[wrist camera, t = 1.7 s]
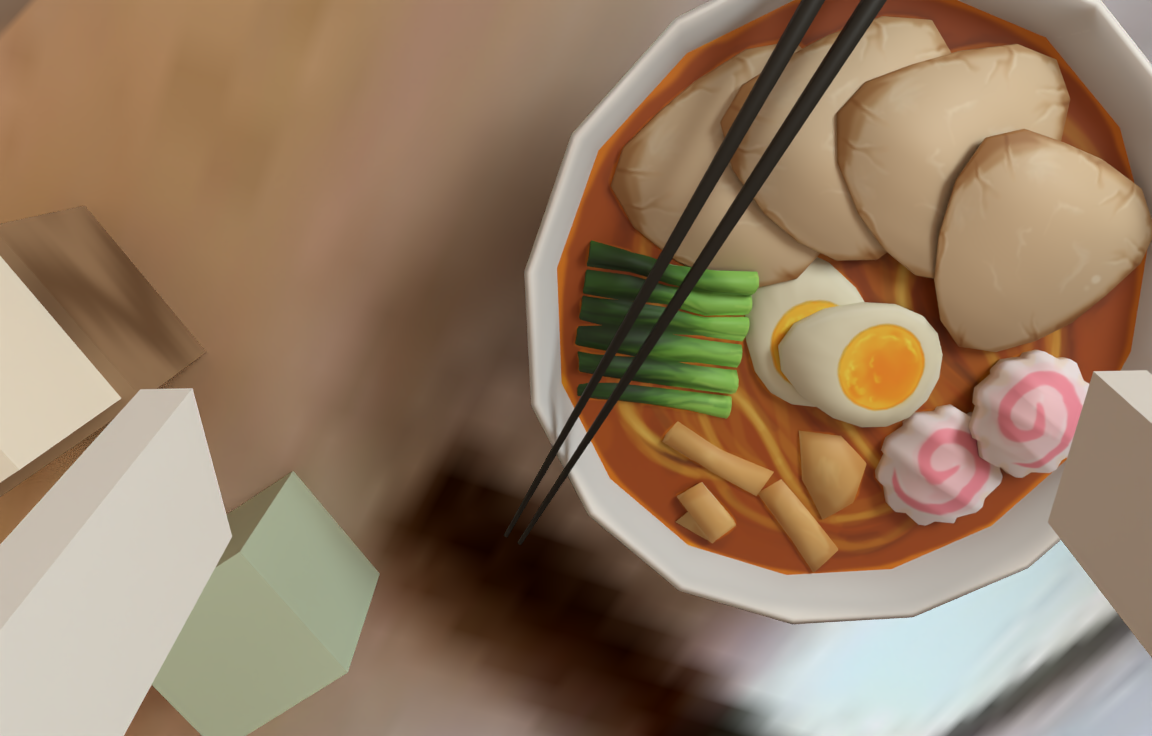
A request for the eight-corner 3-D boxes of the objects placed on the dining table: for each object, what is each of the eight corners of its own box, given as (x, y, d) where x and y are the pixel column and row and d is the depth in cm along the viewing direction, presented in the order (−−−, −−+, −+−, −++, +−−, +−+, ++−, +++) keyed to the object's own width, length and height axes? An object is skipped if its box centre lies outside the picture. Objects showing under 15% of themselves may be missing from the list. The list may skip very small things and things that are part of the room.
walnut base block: (207, 351, 35) (142, 399, 29) (75, 442, 35) (-14, 506, 30) (86, 205, 33) (-9, 225, 27) (-51, 305, 34) (-171, 344, 28)
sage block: (380, 573, 38) (347, 672, 31) (272, 641, 39) (218, 752, 32) (293, 470, 36) (239, 551, 30) (183, 543, 37) (106, 639, 30)
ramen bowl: (844, 631, 40) (920, 758, 32) (407, 395, 35) (372, 476, 28) (1211, 159, 34) (1412, 174, 26) (747, -189, 30) (824, -294, 22)
